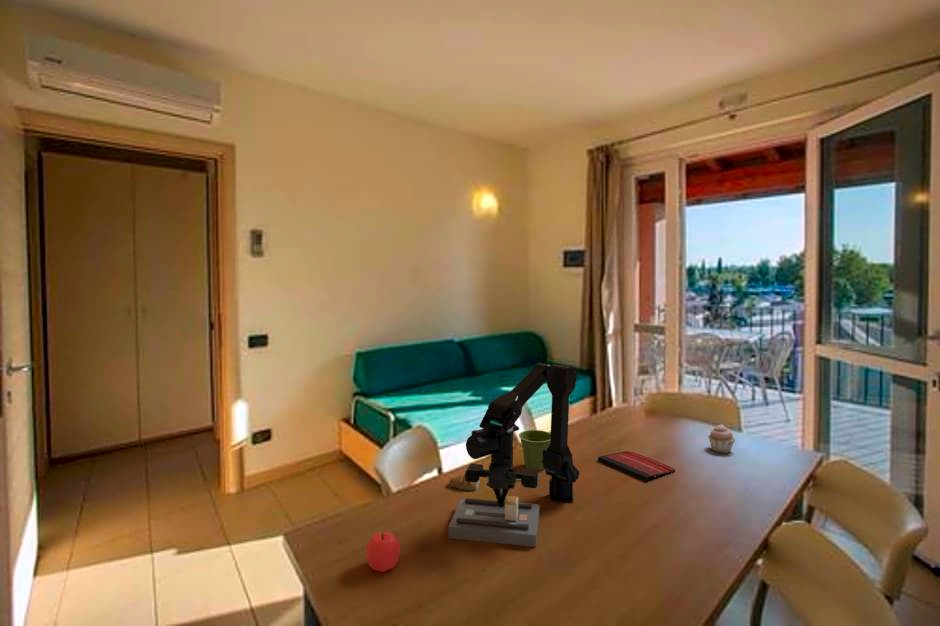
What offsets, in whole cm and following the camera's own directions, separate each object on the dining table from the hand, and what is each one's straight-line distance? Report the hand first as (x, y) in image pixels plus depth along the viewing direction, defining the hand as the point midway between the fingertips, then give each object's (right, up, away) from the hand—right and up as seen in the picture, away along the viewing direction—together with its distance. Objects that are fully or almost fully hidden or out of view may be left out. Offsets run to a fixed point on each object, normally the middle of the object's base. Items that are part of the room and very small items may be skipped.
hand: (501, 506), depth 128 cm
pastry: (-9, -4, +25) cm, 27 cm away
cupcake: (+86, 0, +54) cm, 101 cm away
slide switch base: (-1, -5, +1) cm, 6 cm away
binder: (+49, -3, +40) cm, 63 cm away
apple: (-28, -7, -16) cm, 33 cm away
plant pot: (+15, -2, +39) cm, 42 cm away
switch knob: (+3, -2, 0) cm, 4 cm away
